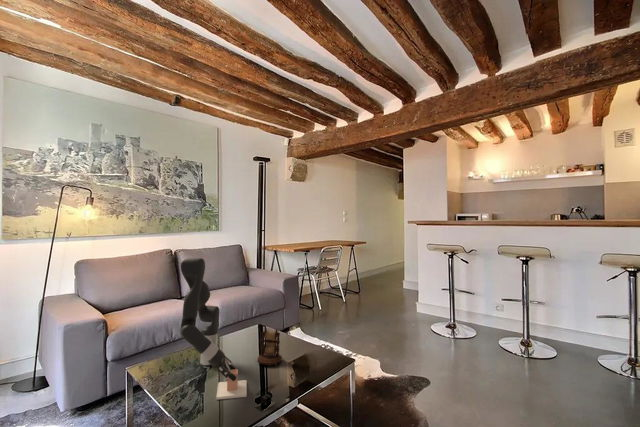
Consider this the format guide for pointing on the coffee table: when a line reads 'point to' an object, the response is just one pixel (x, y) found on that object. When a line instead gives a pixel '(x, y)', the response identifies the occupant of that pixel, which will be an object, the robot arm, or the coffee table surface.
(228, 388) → the terracotta block
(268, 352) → the brown piece
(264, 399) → the black chunky block
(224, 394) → the pad
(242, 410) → the coffee table surface
